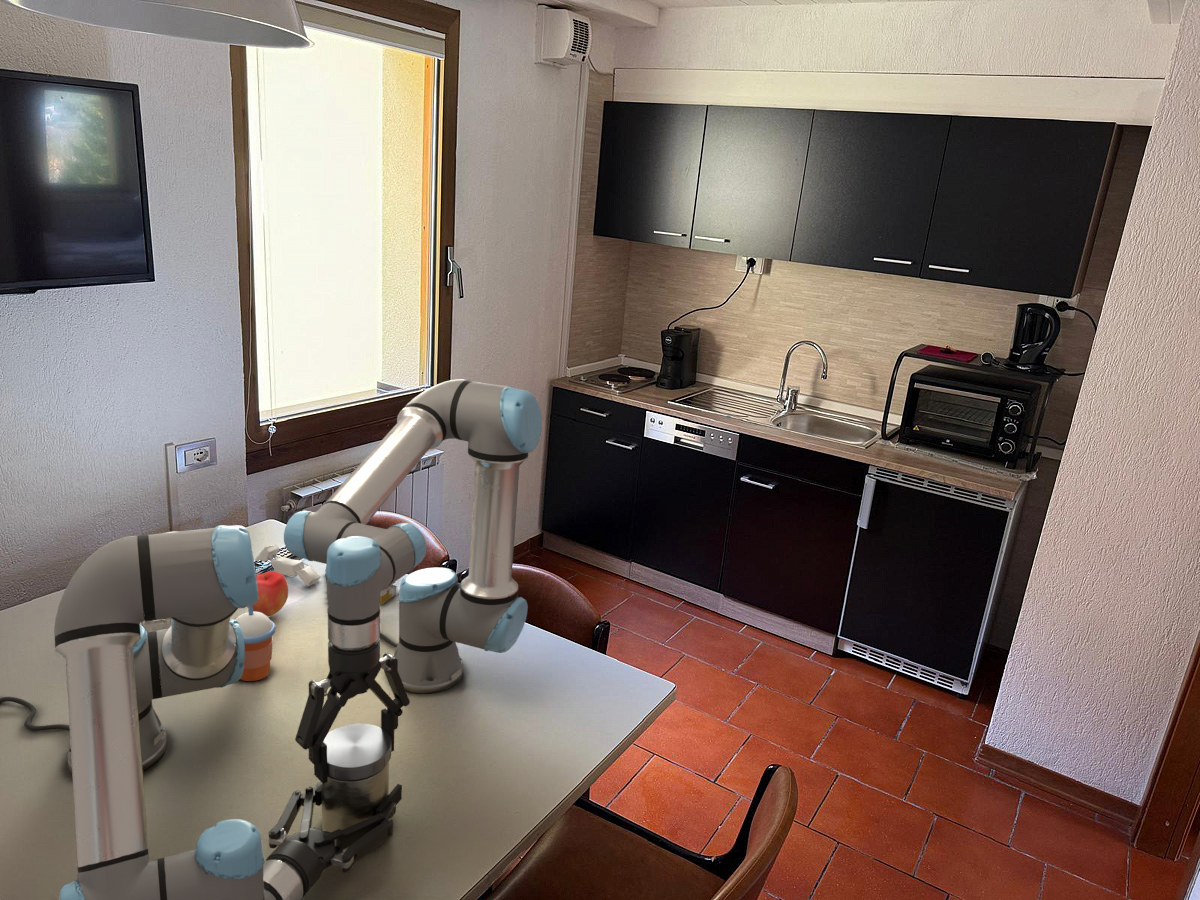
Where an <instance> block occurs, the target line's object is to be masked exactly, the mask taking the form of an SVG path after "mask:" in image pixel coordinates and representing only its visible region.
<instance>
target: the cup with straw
mask: <svg viewBox="0 0 1200 900" xmlns="http://www.w3.org/2000/svg"><path fill="white" fill-rule="evenodd" d="M234 620H236V621H238V623H239V624H240V626H241V629H242V633H243V638H244V646H245V661H244V671H243V674H242V676H241V678H240V679H239V680H241V681H245V682H256V681H260V680H262V679H264V678H266V677H267V676H268V675H270V670H271V660H272V658H273V657H272V656H273V641H274V638H273V636H274V635H275V632H276V624H275V623H274V621H272V620H271V619H270V618H269V617H267V616H266V615H265V614H263V613H260V612H255V611H253V605H250V606H248V607H247V611H246V612H244V613H242V614H240V615H238V616H237V617H236V618H235V619H234Z"/></svg>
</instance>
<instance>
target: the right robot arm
mask: <svg viewBox="0 0 1200 900" xmlns="http://www.w3.org/2000/svg"><path fill="white" fill-rule="evenodd" d="M542 417H543V415H542V410H541V407H540V403H539V401H538V400H537V398H536V396H535V395H534V394H533V393H532V392H530V391H529V390H526V389H525V390H524V389H521V388H516V387H514V386H509V385H503V384H494V383H488V382H481V381H474V380H473V381H472V380H470V379H463V378H462V379H460V378H458V379H450V380H447V381H443V382H440V383H438V384H435V385H433V386H431V387H428V388H427V389H425V390H423V392H420V393H419V394H418V395H416V396H415V397H413V398H412V399H411V400H410V401H409V402H407V404H405V406H404V407H402V409H401V410H400V411H399V412H398V414H397V417H396V424H395V425H394V426H393V427H392V428H391V429H390V430H389V431H388V433H386V435H385V436H384V437H383V438H382V439H381V440H380V441H379V443H377V444H376V446H375V447H374V448H373V449H372V450H371V451H370V452H369V454H368V455H367V456H366V457H364V459H363V460H362V461H361V462H360V463H359V464H358V466H357V467H356V468H355V469H354V470H353V471H352V472H351V473H350V474H349V476H348V477H347V478H346V479H345V480H344V481H343V482H342V483H341V484H340V485H339V486H338V488H337V489H336V490H335V491H334V492H333V493H332V494H331V495H330V497H328V499H327V500H326V501H325V502H324V503H323V504H322V505H321V506H320V507H319V508H318V510H317V511H315V512H314V511H312V510H300V511H298V512H295V513H294V514H292V515H291V516H290V518H289V519H288V521H287V523H286V524H285V528H284V531H283V544H284V545H285V548H286V550H287V552H288V553H290V555H293V556H296V557H299V558H301V559H304V560H307V561H308V562H317V563H321V564H325V565H326V566H325V570H324V571H325V572H324V578H325V584H326V594H327V640H328V641H327V663H328V668H329V671H328V674H327V676H326V678H325V679H322V680H320V681H317V680H315V679H311V680H310V681H309V682H308V696H307V700H306V703H305V705H304V709H303V712H302V716H301V719H300V722H299V725H298V728H297V732H296V734H295V739H294V740H295V742H296V743H297V744H298V745H299V746H300V747H301V748H302V749H303V750H308V760H309V762H310V763H311V764H312V765H313V770H314V771H313V775H314V776H315V777H316V778H317V780H318V781H319V782H320V781H321V782H322V783H323V784H324V783H326V782H328V775H327V745H326V744H325V743H324V742H323V741H324V739H325V737H326V736H327V734H328V733H329V732H330V730H331V728H332V726H333V724H334V723H335V721H336V719H337V717H338V715H339V713H340V711H341V709H342V708H344V707H345V706H346V705H347V703H348V701H349V700H351V699H353V698H354V697H357V696H358V695H363V694H365V693H368V690H370V691H371V692H372V694H374V696H375V697H376V698H377V699H378V700H379V701H380V702H381V703H382V704H383V706H385V707H386V708H382V709H381V710H380V728H382V729H384V730H385V731H386V732H387V733H388V734H389V736H390V738H391V742H392V751H391V753H392V752H394V751H395V730H397V729H398V728H399V717H400V716H402V715H403V712H404V710H403V709H402V708H403V707H405V708H406V707H408V706H409V705H410V702H411V701H410V698H409V696H408V692H410V693H416V694H430V693H431V694H432V693H438V692H441V691H445V690H447V689H450V688H451V687H453V686H455V685H456V684H457V683H458V682H459V681H460V680H461V679H462V676H463V672H464V664H463V660H462V657H461V656H460V653H459V649H458V646H457V643H458V644H461V645H466V646H469V647H473V648H477V649H480V650H483V651H485V652H488V651H489V652H493V653H498V654H503V653H506V652H509V651H510V649H512V648H513V647H514V645H515V644H516V643H517V641H518V639H519V637H520V635H521V633H522V631H523V629H524V626H525V623H526V621H527V616H528V611H529V610H528V609H529V605H528V602H527V599H525V598H523V597H522V596H520V597H519V584H518V582H517V581H516V580H515V579H514V578H513V565H514V563H513V562H514V549H515V537H516V536H515V535H516V534H515V533H516V522H517V507H518V491H519V479H520V466H521V465H522V464H523V463H524V462H526V461H527V460H528V458H529V453H532V452H533V451H535V450H536V449H537V447H538V445H539V442H540V436H541V435H542V430H543V429H542V428H543V421H542V420H543V418H542ZM450 439H452V440H453V439H455V440H458V441H464V442H467V456H468V457H469V458H470V459H471V460H472V461H473V462H474V476H473V494H472V510H471V511H472V512H471V525H470V526H471V527H470V544H469V545H470V546H469V562H468V575H467V576H466V577H464V578H463V579H462V580H461V582H458V580H459V579H458V575H457V573H456V572H455V571H454V570H453V569H450V568H448V567H447V568H446V567H427V568H421V569H418V570H416V571H413V570H414V569H415V568H416V567H417V566H419V564H421V563H422V562H423V560H424V559H425V557H426V554H427V549H428V548H427V542H426V538H425V535H424V534H423V533H422V531H421V530H420V529H419V528H417V526H415V525H413V524H411V523H407V522H401V523H396V524H394V525H391V526H389V527H388V528H384V527H383V528H382V527H378V526H374V525H369V524H368V523H369V522H370V520H371V519H373V517H374V516H375V514H376V513H377V512H378V511H379V510H380V509H381V507H382V506H383V505H384V504H385V502H386V501H388V499H389V498H390V497H391V495H393V493H394V492H395V491H396V489H397V488H398V487H399V486H400V484H402V482H403V481H404V480H405V479H406V478H407V476H408V475H409V474H410V473H411V471H412V470H413V469H414V468H415V467H416V466H417V464H418V463H419V462H420V461H421V460H422V458H423V457H424V456H425V455H426V454H427V453H428V452H429V450H434V449H436V448H438V447H439V446H441V444H442V443H443V442H444V441H446V440H450ZM401 578H403V579H402V580H401V581H400V585H399V590H398V591H399V593H398V598H397V600H398V643H396V642H394V641H393V640H391V639H390V638H388V637H387V636H386V635H384V634H383V632H381V604H380V593H381V591H383V590H384V589H386V588H387V587H388V586H390V585H391V584H392V583H394V582H395V581H396V582H397V581H398V580H400V579H401ZM394 584H395V583H394ZM380 638H381V639H383V640H384V641H385V642H386V643H388V644H389V645H390V646H392V647H394V648H395V651H394V653H393V655H392V654H391V653H389V651H388V652H384V653H383V655H382V657H381V639H380ZM381 670H383V672H384V675H385V677H386V679H387V682H388V685H389V688H390V690H391V692H392V694H393V697H394V698H392V697H390V695H389V694H388V693H387V692H386V690H384V689H383V687H382V686H381V684H380V683H378V681H377V680H376V678H377V676H378V675H379V674H380V671H381ZM325 697H326V700H325Z"/></svg>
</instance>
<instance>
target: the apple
mask: <svg viewBox="0 0 1200 900" xmlns="http://www.w3.org/2000/svg"><path fill="white" fill-rule="evenodd" d="M256 578H257V586H258V597H259V599H258V601H257V602H256V603H255V604H253V611H255V612H260V613H263V614H265V615H266V616H267V617H268V618H269V617H273V616H275V615H276V614H278V613H279V612H280V611H281V610H282V609H283V607H284V606H285V605H286V603H287V600H288V597H289V584H288V581H287V579H286V577H285V575H282V574H281V573H278V572H275V571H268V570H267V571H266V572H264V573H259V574H256ZM246 608H248V606H247V607H246Z"/></svg>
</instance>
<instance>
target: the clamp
mask: <svg viewBox="0 0 1200 900" xmlns="http://www.w3.org/2000/svg"><path fill="white" fill-rule="evenodd" d="M280 549H281V547H279V546H278V545H277V544H272V545H266V546H264V547H263V549H262V550H261V551H260V552H259V554H258V555H257V556H256V557H255V559H254V563H256V561H259V560H262V561H268V560H271V562H270V563H269V564H271V565H272V566H273V568H274V571H275V572H278V573H281V574H282V575H283V576H288V577H292V578H296V577H298V578H299V579H300V580H301V582H303V584H304V585H305V587H309V586H312V585H314V584H316V583H318V582H319V580H320V579H321V578H322V577H321V575H320V574H319V573H318V572H317V570H315V569H314V568H313V566H312V565H310V564H309V565H308V564H307V563H305V562H304V561H303V560H301V559H300V560H299V559H292V558H289V557H285V556H278V553H279V551H280ZM273 558H274V559H273ZM272 559H273V560H272ZM305 566H306V567H305ZM270 571H271V570H270Z"/></svg>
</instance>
